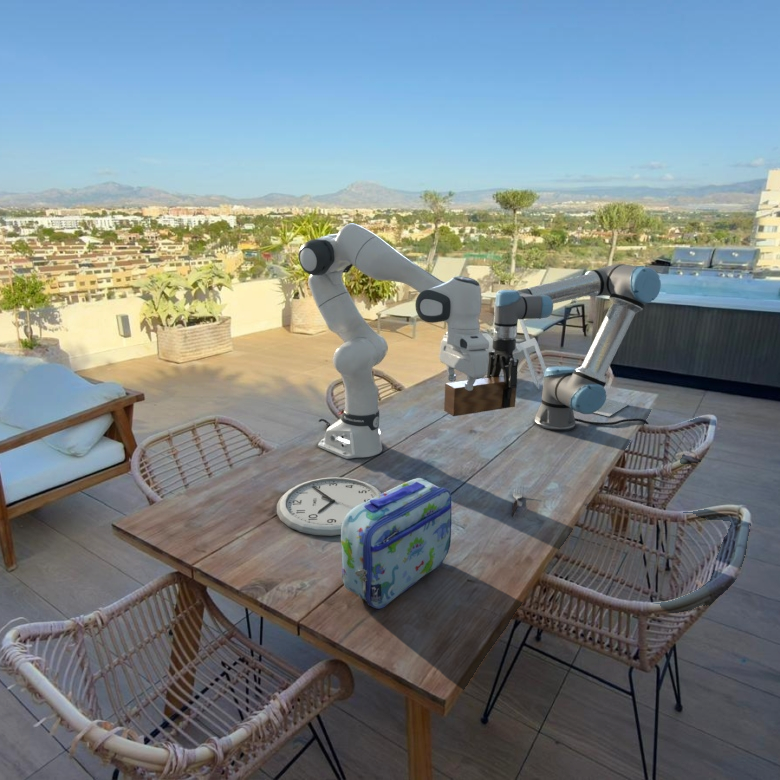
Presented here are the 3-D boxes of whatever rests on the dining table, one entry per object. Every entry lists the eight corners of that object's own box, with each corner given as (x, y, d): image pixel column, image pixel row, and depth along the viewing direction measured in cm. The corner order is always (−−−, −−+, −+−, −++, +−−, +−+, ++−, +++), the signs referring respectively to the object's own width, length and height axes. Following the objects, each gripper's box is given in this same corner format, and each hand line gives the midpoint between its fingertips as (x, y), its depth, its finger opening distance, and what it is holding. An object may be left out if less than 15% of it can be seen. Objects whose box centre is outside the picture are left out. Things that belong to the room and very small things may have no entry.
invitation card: (608, 416, 214) (573, 407, 224) (608, 416, 214) (573, 408, 224) (628, 404, 229) (594, 396, 238) (628, 405, 229) (594, 397, 238)
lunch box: (370, 622, 101) (370, 527, 94) (335, 595, 108) (333, 505, 102) (455, 565, 118) (460, 481, 112) (420, 544, 125) (423, 465, 119)
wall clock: (392, 527, 129) (268, 531, 127) (391, 533, 130) (269, 537, 127) (383, 473, 158) (282, 475, 155) (383, 478, 158) (282, 480, 156)
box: (504, 401, 184) (506, 375, 181) (514, 406, 179) (517, 379, 176) (444, 410, 175) (445, 383, 172) (453, 416, 169) (454, 388, 166)
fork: (506, 517, 138) (507, 510, 138) (514, 490, 152) (515, 483, 152) (516, 518, 137) (517, 512, 137) (523, 491, 152) (524, 485, 151)
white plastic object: (486, 418, 267) (465, 395, 242) (467, 346, 289) (447, 318, 264) (556, 394, 255) (543, 367, 230) (531, 321, 277) (516, 289, 252)
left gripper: (435, 331, 152) (433, 376, 156) (472, 345, 134) (469, 396, 138) (454, 329, 154) (451, 374, 158) (493, 343, 136) (489, 394, 141)
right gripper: (478, 333, 180) (475, 397, 187) (513, 344, 163) (507, 414, 170) (497, 331, 183) (492, 394, 189) (532, 342, 166) (526, 410, 173)
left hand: (460, 385), depth 148 cm, fingers open, 8 cm apart
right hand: (499, 403), depth 180 cm, fingers closed on box, 6 cm apart
